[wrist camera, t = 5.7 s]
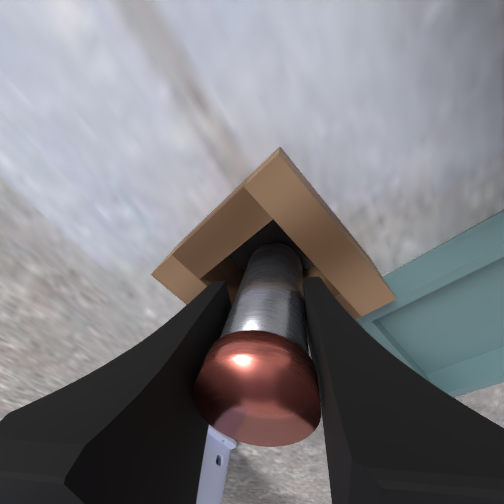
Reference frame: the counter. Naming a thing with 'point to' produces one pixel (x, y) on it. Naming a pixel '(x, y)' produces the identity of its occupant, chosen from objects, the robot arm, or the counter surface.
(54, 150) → the counter surface
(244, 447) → the counter surface
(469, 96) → the counter surface
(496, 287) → the tray
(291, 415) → the red capped cylinder
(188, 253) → the bore block
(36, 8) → the counter surface
